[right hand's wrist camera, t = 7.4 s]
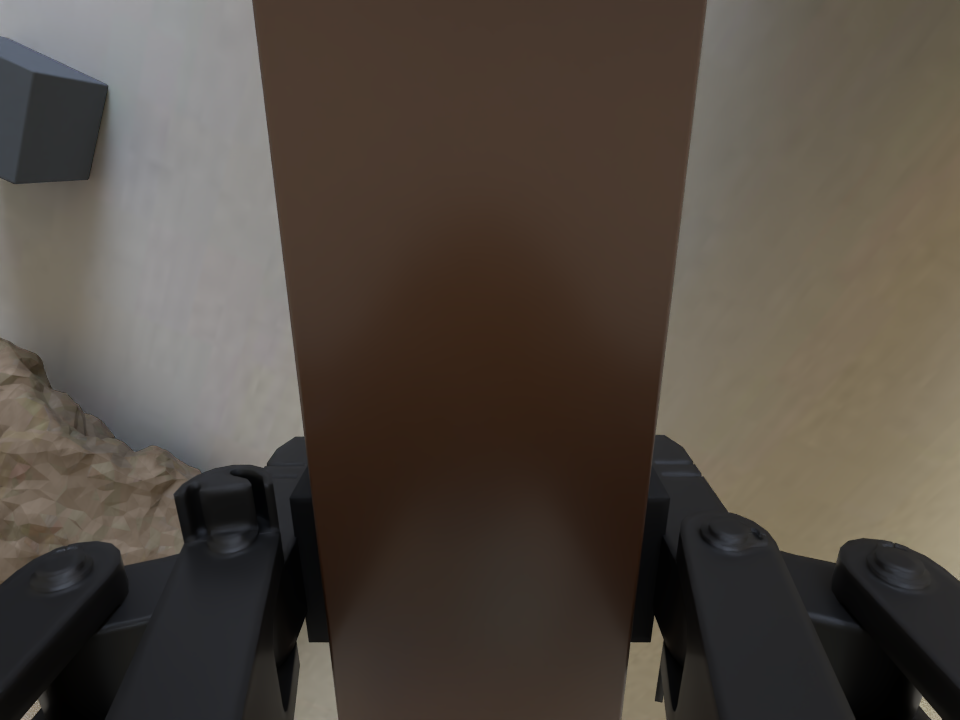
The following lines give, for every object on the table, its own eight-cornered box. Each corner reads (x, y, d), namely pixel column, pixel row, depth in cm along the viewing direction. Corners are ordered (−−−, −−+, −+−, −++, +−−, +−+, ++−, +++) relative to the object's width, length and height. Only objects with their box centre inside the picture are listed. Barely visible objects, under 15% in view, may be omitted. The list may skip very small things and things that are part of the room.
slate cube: (89, 180, 27) (15, 185, 22) (-9, 137, 26) (-104, 133, 22) (109, 85, 25) (34, 71, 21) (6, 37, 24) (-93, 12, 20)
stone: (-156, 535, 29) (-266, 615, 24) (14, 319, 29) (-58, 349, 23) (206, 677, 38) (187, 762, 32) (345, 511, 37) (350, 567, 31)
